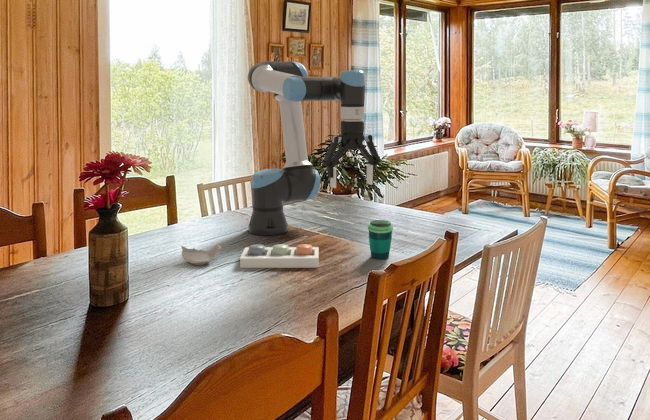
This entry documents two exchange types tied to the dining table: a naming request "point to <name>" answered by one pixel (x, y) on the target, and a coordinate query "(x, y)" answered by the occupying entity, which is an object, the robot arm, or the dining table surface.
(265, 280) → the dining table surface
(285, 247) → the button sage
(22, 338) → the dining table surface
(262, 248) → the button slate
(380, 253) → the cup
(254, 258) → the panel
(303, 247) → the button terracotta
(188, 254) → the pottery shard
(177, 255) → the dining table surface
